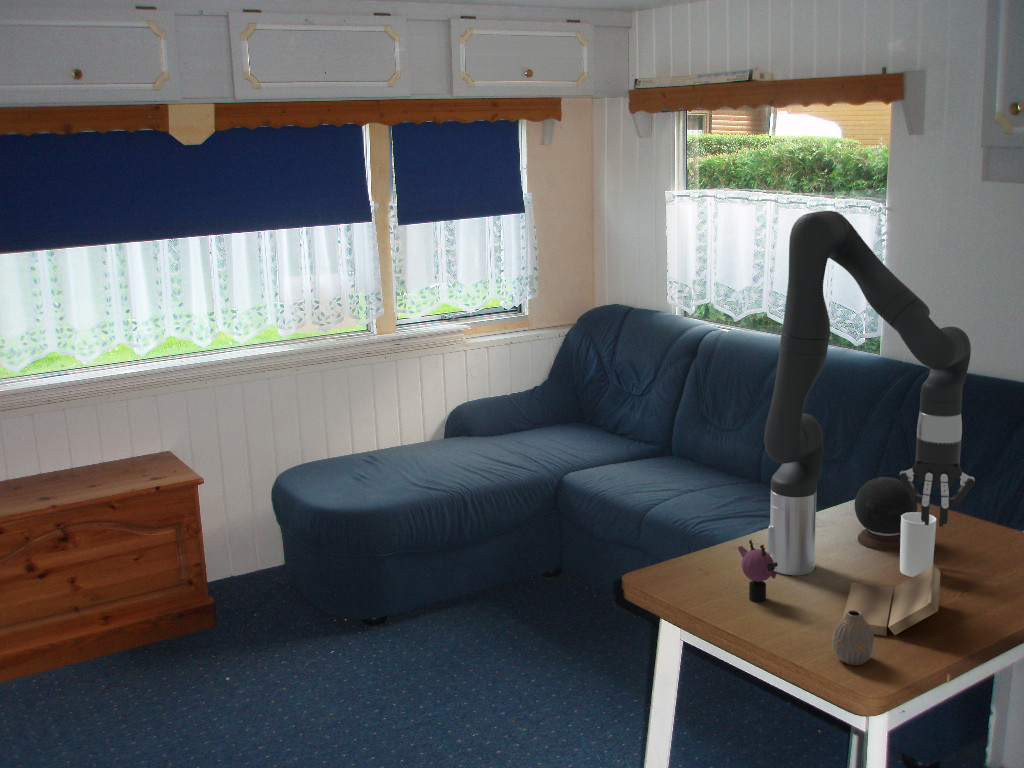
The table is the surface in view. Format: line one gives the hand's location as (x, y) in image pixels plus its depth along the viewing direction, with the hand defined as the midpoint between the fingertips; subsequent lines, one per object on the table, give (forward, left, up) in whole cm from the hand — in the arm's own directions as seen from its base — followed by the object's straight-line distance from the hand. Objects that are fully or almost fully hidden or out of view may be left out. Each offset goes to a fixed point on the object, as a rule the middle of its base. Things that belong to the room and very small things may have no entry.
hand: (934, 524), depth 186 cm
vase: (-11, -25, -17) cm, 33 cm away
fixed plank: (-11, -5, -17) cm, 21 cm away
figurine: (-31, -6, -17) cm, 36 cm away
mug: (-2, +19, -17) cm, 25 cm away
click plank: (-2, -5, -14) cm, 15 cm away
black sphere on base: (-10, +33, -17) cm, 38 cm away
